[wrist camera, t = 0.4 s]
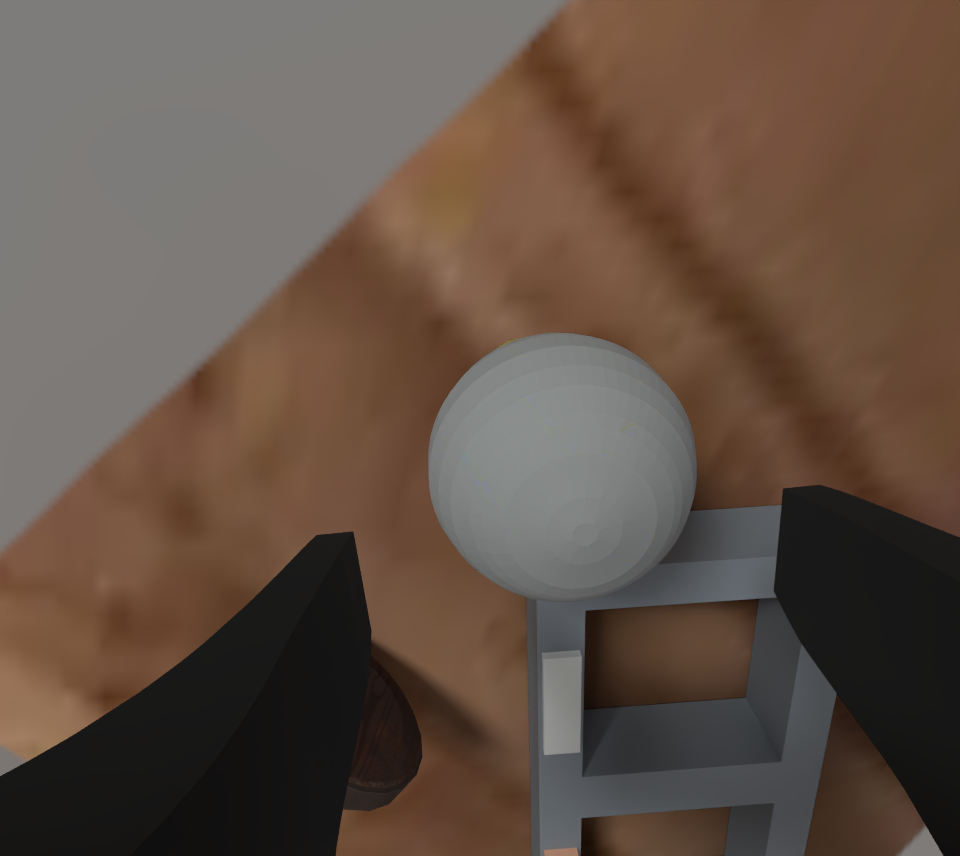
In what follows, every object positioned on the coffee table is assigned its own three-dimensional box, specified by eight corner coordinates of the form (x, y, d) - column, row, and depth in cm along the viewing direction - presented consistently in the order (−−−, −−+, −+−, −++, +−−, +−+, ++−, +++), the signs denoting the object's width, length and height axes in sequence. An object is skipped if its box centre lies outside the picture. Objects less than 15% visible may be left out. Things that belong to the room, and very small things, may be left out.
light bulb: (592, 453, 22) (701, 670, 13) (425, 439, 21) (413, 654, 12) (624, 286, 20) (781, 399, 11) (441, 266, 19) (440, 366, 10)
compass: (172, 703, 25) (72, 904, 18) (294, 560, 23) (233, 727, 16) (347, 796, 27) (316, 1006, 20) (473, 673, 25) (485, 861, 18)
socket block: (814, 503, 23) (871, 555, 20) (753, 876, 30) (788, 957, 27) (524, 521, 23) (537, 578, 20) (532, 894, 30) (542, 978, 27)
